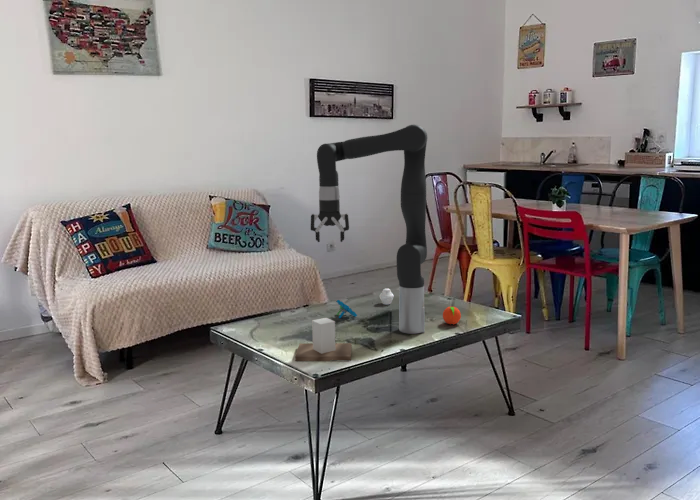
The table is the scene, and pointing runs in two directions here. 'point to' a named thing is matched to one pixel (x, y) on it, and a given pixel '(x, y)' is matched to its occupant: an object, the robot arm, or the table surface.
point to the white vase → (386, 296)
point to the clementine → (451, 315)
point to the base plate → (309, 354)
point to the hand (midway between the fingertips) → (330, 241)
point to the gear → (344, 309)
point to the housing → (323, 335)
